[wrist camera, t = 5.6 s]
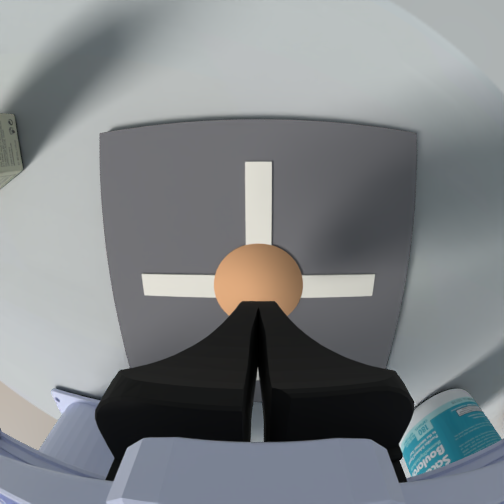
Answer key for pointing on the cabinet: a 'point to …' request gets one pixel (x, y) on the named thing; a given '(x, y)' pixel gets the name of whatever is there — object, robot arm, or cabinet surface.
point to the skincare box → (9, 149)
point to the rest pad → (258, 230)
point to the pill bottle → (445, 432)
